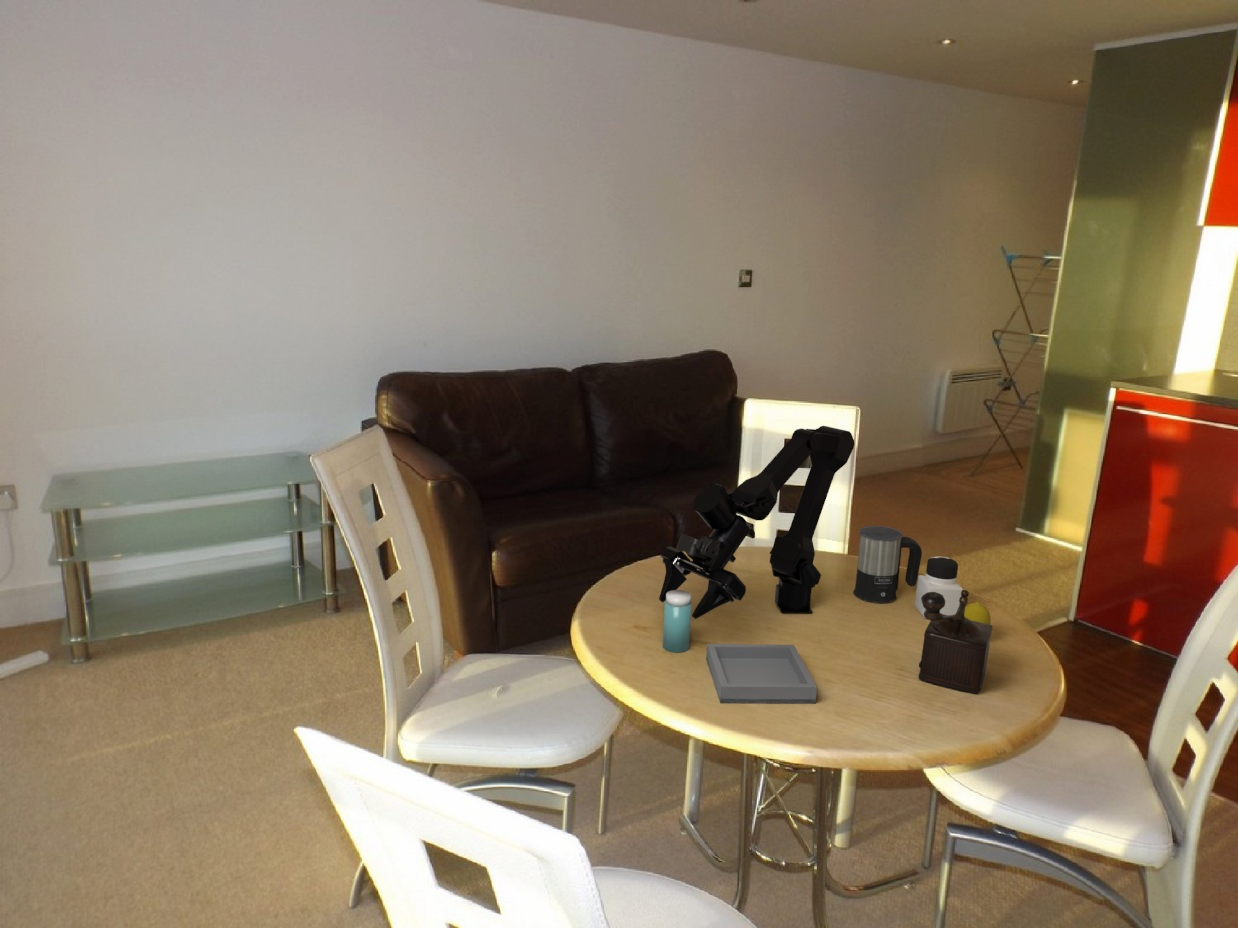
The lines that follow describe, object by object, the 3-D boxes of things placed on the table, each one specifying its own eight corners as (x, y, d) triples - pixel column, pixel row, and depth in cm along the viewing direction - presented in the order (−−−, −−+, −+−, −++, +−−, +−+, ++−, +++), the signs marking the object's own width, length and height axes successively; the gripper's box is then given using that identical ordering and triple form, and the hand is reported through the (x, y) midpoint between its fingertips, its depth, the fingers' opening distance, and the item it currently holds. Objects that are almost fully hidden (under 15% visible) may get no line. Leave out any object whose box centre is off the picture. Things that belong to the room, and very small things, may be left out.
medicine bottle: (959, 620, 183) (966, 566, 180) (924, 619, 183) (931, 564, 180) (947, 607, 190) (954, 554, 187) (914, 605, 190) (920, 552, 187)
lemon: (988, 637, 175) (993, 599, 173) (987, 648, 170) (992, 609, 168) (958, 631, 177) (963, 594, 175) (956, 642, 172) (961, 604, 171)
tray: (792, 659, 163) (793, 644, 162) (815, 703, 147) (817, 687, 147) (706, 658, 162) (707, 643, 161) (720, 703, 147) (721, 686, 146)
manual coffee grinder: (924, 657, 166) (935, 566, 162) (987, 671, 161) (1000, 578, 156) (907, 691, 153) (919, 594, 148) (975, 708, 148) (989, 608, 143)
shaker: (687, 641, 169) (690, 589, 167) (690, 652, 164) (693, 600, 162) (661, 640, 169) (663, 589, 166) (664, 652, 164) (666, 599, 162)
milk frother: (869, 606, 189) (877, 540, 185) (826, 580, 203) (832, 518, 199) (923, 598, 194) (931, 534, 190) (877, 573, 208) (884, 513, 205)
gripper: (670, 506, 171) (622, 570, 167) (739, 532, 157) (689, 603, 153) (697, 538, 178) (652, 601, 174) (766, 565, 163) (719, 635, 159)
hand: (676, 608), depth 165 cm, fingers open, 9 cm apart
